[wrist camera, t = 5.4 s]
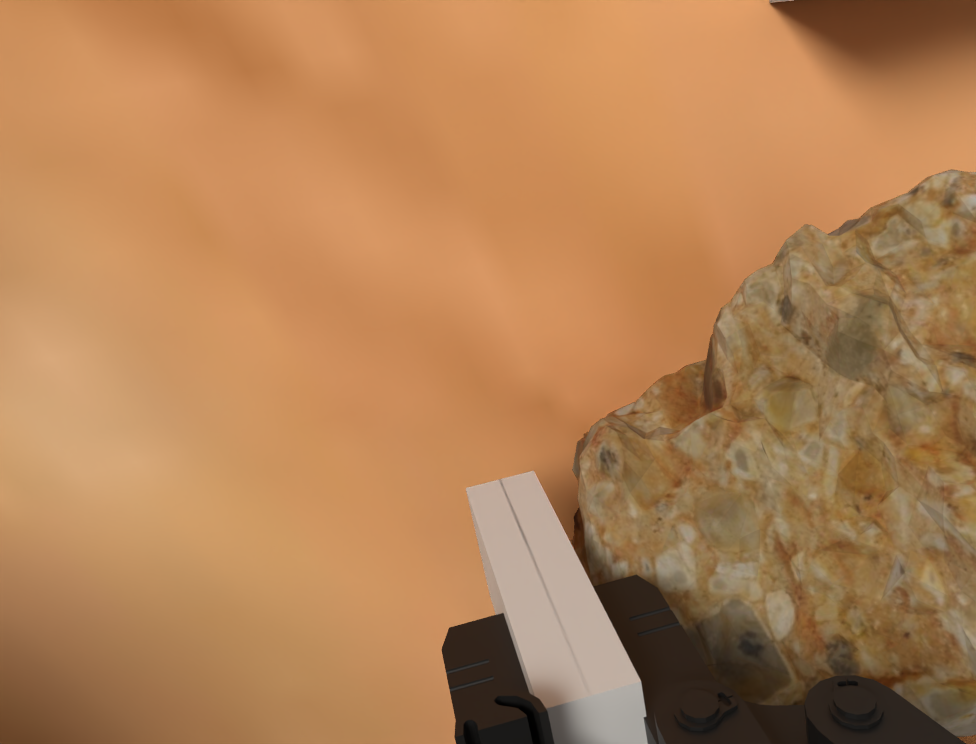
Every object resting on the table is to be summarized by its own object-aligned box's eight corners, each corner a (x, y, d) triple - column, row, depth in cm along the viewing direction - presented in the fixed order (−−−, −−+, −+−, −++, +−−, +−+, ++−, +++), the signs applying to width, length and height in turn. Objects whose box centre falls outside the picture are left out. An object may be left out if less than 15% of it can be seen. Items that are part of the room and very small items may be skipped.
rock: (880, 573, 25) (1220, 884, 15) (527, 620, 23) (672, 1002, 14) (952, 138, 21) (1473, 210, 11) (526, 155, 19) (733, 257, 10)
